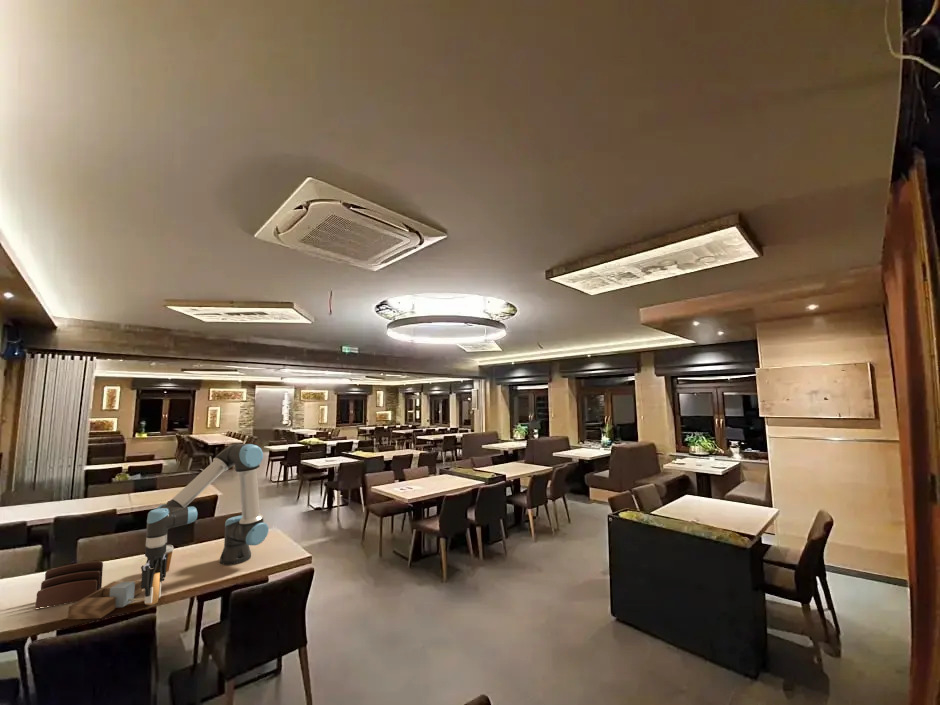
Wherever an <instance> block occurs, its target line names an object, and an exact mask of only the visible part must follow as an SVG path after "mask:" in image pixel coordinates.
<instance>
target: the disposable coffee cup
mask: <svg viewBox="0 0 940 705" xmlns="http://www.w3.org/2000/svg"><path fill="white" fill-rule="evenodd" d="M174 548H175V547H174V545H172V544H166V552H165V553H164V555H168V558H167V566H166V573H168V572H169V571H170V566H171V561H172V555H173V552H174ZM152 569H154V568H152Z"/></svg>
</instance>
